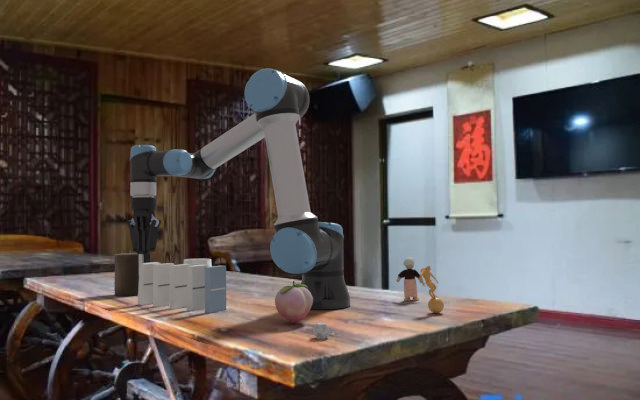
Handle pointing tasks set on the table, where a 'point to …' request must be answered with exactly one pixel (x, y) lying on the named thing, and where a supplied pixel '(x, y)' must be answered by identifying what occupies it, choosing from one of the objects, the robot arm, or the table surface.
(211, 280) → the blue domino
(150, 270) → the domino
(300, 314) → the decorative fruit
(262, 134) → the robot arm
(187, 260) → the cup
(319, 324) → the game die
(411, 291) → the grandmother figurine
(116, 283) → the pillar candle
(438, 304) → the figurine
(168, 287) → the domino
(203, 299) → the domino
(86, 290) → the table surface
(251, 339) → the table surface
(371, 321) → the table surface
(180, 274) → the domino
